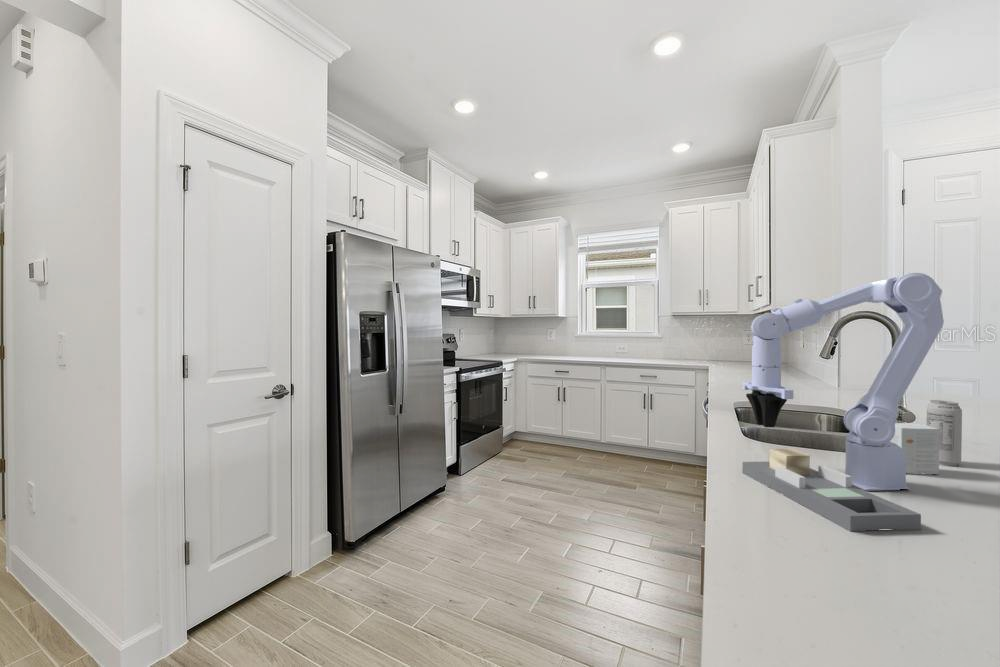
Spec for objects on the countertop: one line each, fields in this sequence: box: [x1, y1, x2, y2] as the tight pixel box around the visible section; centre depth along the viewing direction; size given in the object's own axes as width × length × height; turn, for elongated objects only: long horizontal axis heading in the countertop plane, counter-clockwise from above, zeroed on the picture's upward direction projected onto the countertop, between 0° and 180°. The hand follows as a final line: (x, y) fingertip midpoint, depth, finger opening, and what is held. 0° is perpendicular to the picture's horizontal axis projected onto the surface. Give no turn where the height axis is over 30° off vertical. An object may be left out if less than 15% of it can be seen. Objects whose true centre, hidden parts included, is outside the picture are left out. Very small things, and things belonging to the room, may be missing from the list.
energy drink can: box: [925, 399, 963, 467], centre depth 105 cm, size 6×6×15 cm
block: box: [769, 448, 811, 475], centre depth 91 cm, size 5×5×4 cm
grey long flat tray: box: [741, 461, 922, 532], centre depth 83 cm, size 12×28×4 cm, turn 3°
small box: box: [890, 422, 940, 475], centre depth 99 cm, size 8×6×10 cm
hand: (765, 425), depth 98 cm, fingers closed
